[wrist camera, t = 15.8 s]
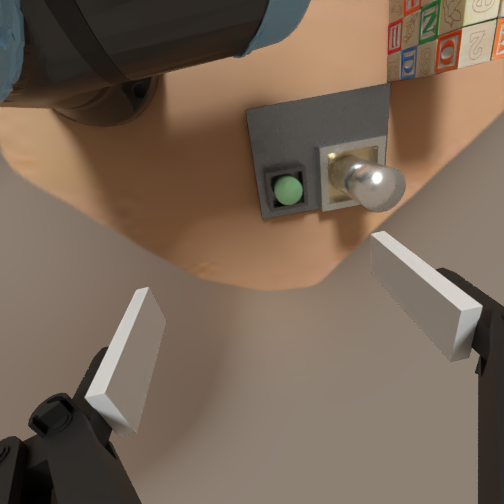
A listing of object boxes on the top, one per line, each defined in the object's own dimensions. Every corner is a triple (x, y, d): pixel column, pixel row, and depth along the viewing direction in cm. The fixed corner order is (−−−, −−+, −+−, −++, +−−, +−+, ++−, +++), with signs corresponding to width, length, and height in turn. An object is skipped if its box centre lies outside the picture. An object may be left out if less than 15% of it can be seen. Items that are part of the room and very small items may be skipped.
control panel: (245, 109, 35) (247, 109, 32) (386, 83, 35) (402, 80, 32) (261, 217, 42) (265, 225, 39) (380, 194, 42) (392, 201, 39)
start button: (270, 176, 38) (274, 181, 35) (296, 171, 38) (301, 175, 35) (274, 201, 39) (277, 207, 37) (298, 196, 39) (303, 202, 37)
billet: (330, 159, 38) (362, 171, 29) (365, 153, 38) (407, 164, 29) (331, 193, 40) (360, 215, 31) (364, 188, 40) (403, 208, 31)
